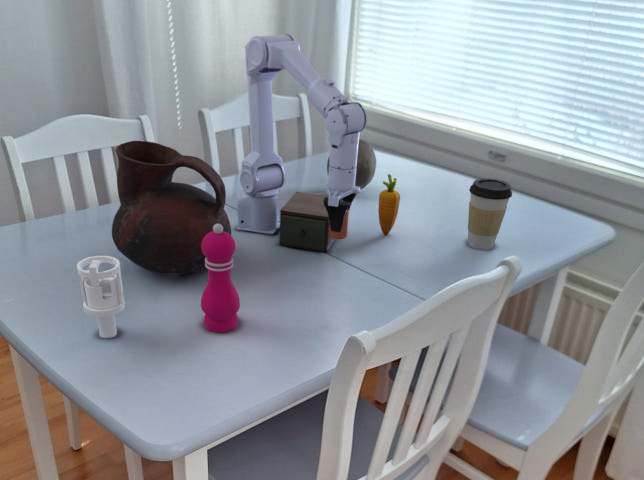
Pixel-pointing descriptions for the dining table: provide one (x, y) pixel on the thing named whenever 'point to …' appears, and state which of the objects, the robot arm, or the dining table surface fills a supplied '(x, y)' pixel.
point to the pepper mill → (219, 282)
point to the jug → (164, 209)
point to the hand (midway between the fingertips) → (338, 227)
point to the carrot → (388, 206)
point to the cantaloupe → (363, 164)
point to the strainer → (102, 292)
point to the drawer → (303, 231)
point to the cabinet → (308, 213)
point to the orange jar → (343, 232)
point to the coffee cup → (486, 211)
